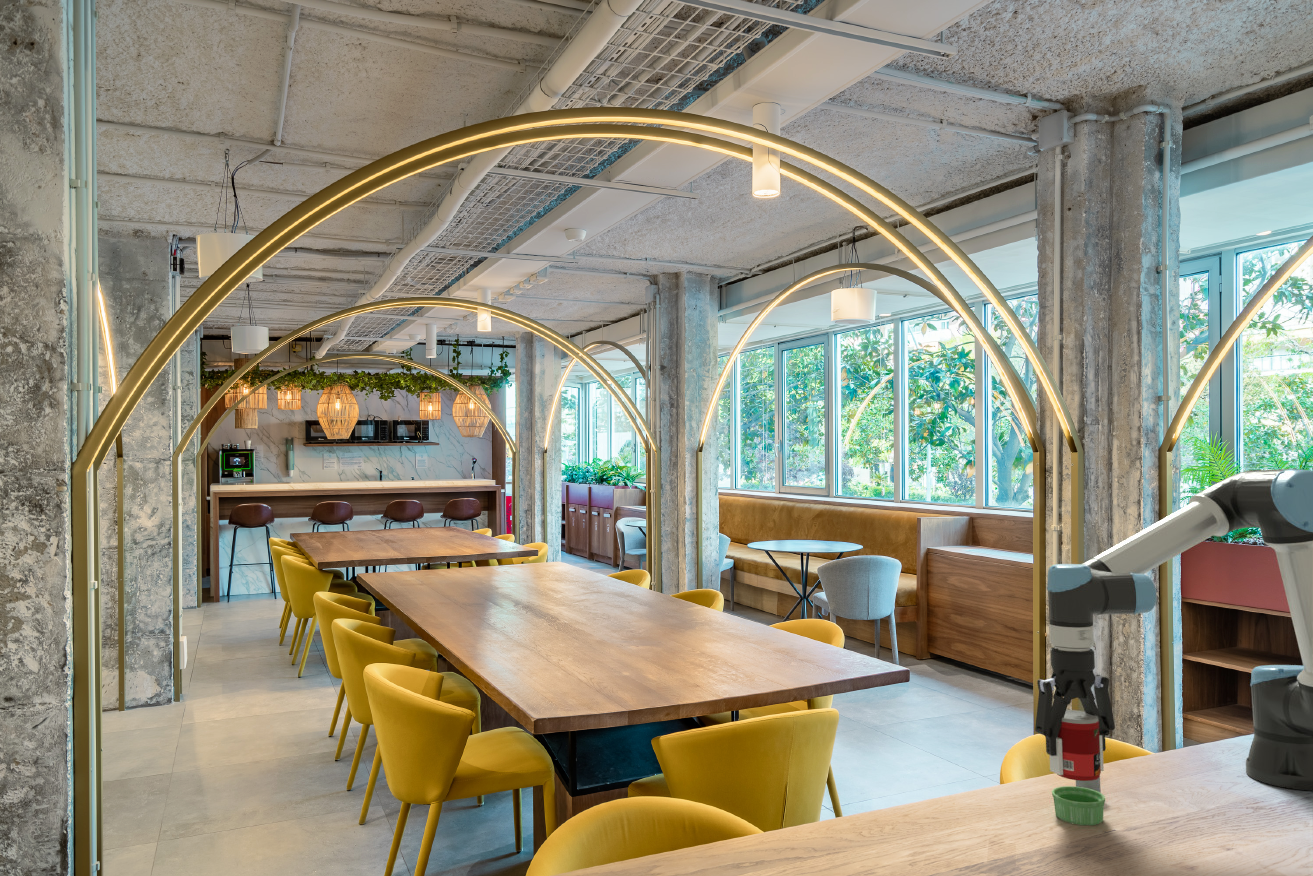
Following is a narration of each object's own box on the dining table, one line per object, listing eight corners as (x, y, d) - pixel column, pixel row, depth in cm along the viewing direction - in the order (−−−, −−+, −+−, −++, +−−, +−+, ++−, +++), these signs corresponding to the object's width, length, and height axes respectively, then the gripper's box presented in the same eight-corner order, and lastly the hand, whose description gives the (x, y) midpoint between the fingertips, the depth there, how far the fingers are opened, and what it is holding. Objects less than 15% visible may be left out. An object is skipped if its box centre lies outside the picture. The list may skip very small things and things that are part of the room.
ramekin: (1051, 822, 163) (1050, 798, 163) (1054, 806, 171) (1053, 783, 171) (1106, 830, 159) (1104, 805, 159) (1106, 813, 167) (1105, 789, 167)
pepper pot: (1090, 791, 178) (1088, 752, 179) (1105, 799, 174) (1104, 758, 175) (1071, 793, 178) (1069, 754, 178) (1086, 801, 173) (1084, 760, 174)
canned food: (1106, 782, 161) (1103, 721, 162) (1059, 780, 163) (1056, 719, 163) (1094, 769, 168) (1091, 710, 169) (1049, 767, 170) (1047, 708, 171)
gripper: (1035, 654, 161) (1040, 782, 160) (1134, 647, 165) (1139, 772, 164) (1010, 646, 168) (1015, 769, 167) (1105, 641, 173) (1110, 760, 171)
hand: (1076, 770), depth 166 cm, fingers closed on canned food, 8 cm apart
